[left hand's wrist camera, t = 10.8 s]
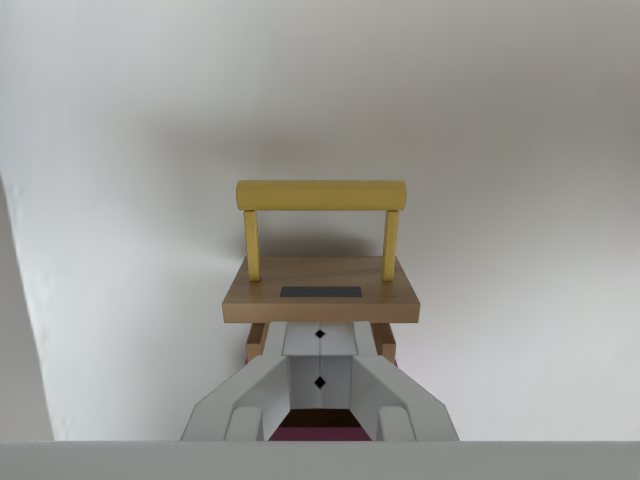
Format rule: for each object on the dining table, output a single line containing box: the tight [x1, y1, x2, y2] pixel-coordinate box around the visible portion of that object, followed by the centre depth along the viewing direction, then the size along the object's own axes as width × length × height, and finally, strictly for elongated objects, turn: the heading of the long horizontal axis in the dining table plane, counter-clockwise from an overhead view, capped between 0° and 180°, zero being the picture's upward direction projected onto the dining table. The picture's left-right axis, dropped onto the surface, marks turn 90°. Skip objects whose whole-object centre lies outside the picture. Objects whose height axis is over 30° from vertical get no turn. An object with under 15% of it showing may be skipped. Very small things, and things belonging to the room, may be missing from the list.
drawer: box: [222, 180, 420, 427], centre depth 23 cm, size 24×10×6 cm, turn 0°
